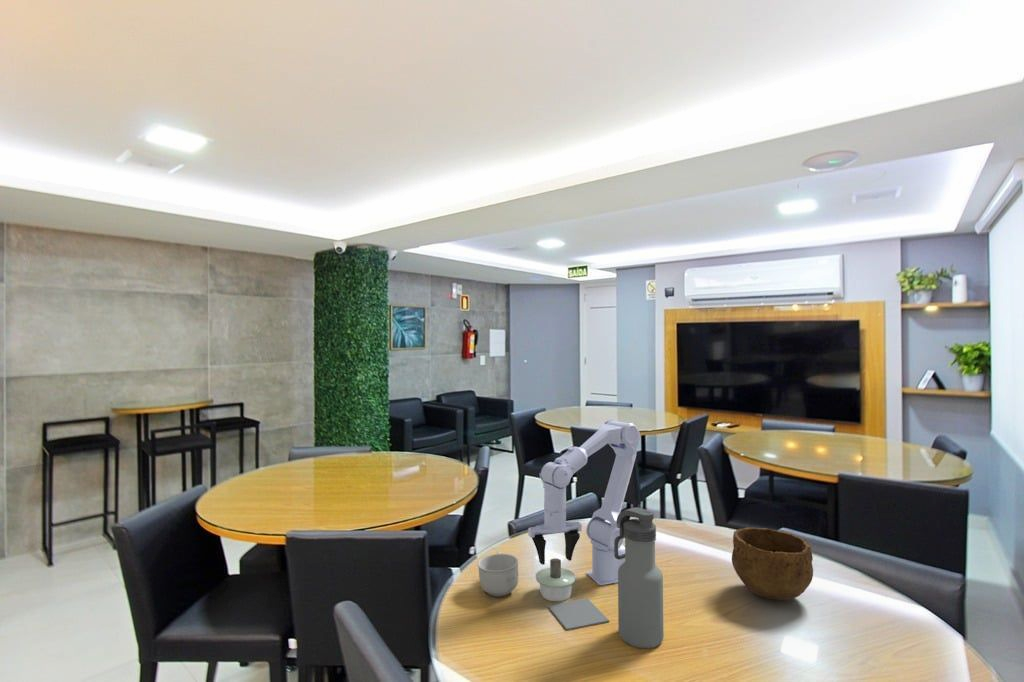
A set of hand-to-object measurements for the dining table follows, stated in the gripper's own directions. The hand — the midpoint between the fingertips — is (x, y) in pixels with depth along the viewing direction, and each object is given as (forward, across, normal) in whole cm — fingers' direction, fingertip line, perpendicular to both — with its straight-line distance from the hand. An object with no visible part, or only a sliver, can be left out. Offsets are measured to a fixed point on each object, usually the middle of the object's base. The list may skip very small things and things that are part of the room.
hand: (555, 561), depth 130 cm
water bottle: (+9, -10, +24) cm, 27 cm away
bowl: (+9, -53, +19) cm, 57 cm away
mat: (+9, -1, +11) cm, 14 cm away
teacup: (+9, +13, -8) cm, 18 cm away
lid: (+4, 0, 0) cm, 4 cm away
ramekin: (+9, 0, 0) cm, 9 cm away
